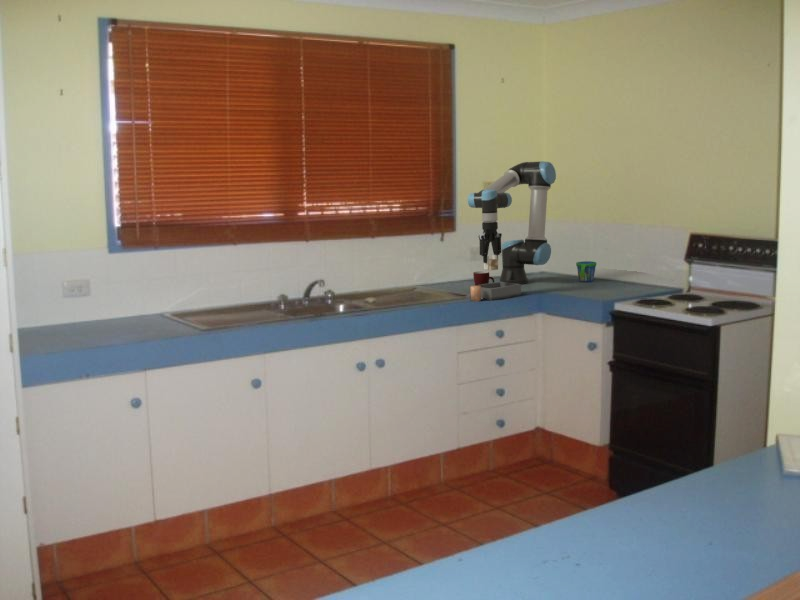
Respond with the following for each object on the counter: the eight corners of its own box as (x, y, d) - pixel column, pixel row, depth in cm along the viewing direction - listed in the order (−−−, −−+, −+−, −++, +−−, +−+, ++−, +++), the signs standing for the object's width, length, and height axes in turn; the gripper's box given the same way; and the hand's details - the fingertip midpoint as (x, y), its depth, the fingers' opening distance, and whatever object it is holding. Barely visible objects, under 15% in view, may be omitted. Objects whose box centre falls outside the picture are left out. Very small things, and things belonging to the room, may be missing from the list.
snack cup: (590, 283, 471) (590, 264, 469) (571, 283, 476) (571, 264, 475) (600, 279, 484) (600, 261, 482) (582, 279, 490) (582, 260, 488)
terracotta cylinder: (476, 299, 436) (476, 285, 435) (483, 300, 432) (483, 286, 431) (468, 300, 433) (468, 286, 432) (475, 301, 429) (475, 287, 428)
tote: (500, 292, 455) (499, 281, 454) (521, 295, 443) (521, 284, 442) (470, 297, 443) (470, 286, 442) (491, 300, 431) (491, 289, 430)
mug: (492, 289, 464) (491, 270, 463) (496, 291, 456) (495, 272, 455) (472, 291, 463) (471, 271, 461) (475, 293, 455) (475, 273, 453)
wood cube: (491, 268, 447) (491, 258, 446) (498, 269, 443) (498, 259, 442) (483, 269, 444) (483, 259, 443) (490, 270, 440) (490, 260, 439)
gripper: (497, 220, 448) (498, 266, 451) (471, 222, 437) (472, 270, 441) (508, 220, 442) (509, 267, 446) (481, 223, 431) (482, 271, 435)
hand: (490, 268), depth 443 cm, fingers closed on wood cube, 5 cm apart
